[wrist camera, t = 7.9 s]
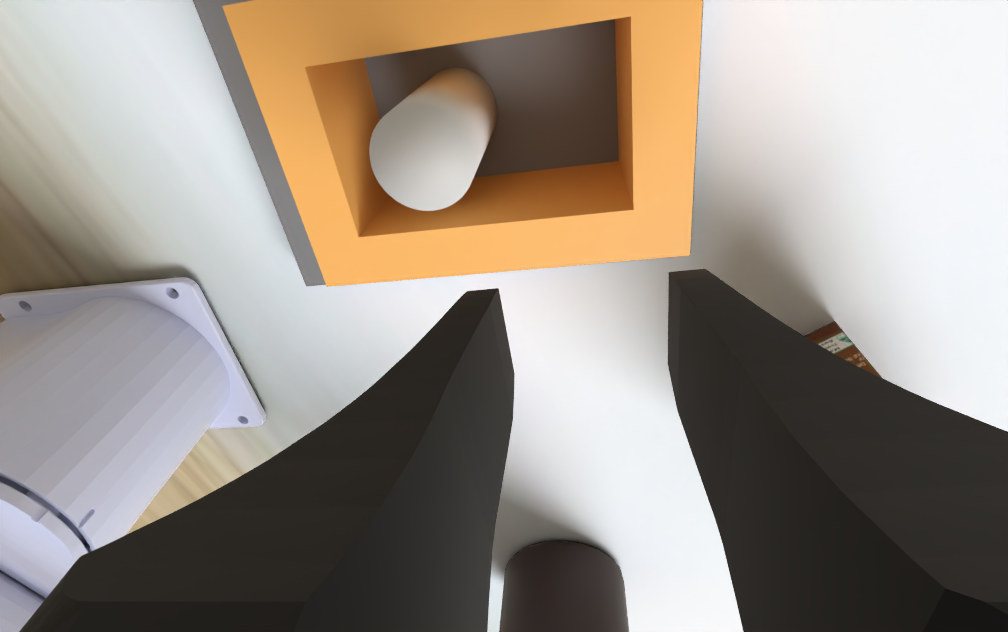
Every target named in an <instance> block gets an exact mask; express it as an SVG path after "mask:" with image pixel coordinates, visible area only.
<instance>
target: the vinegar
mask: <svg viewBox="0 0 1008 632" xmlns="http://www.w3.org/2000/svg"><path fill="white" fill-rule="evenodd" d="M499 632H629V627H628V617H627V607H626V598H625V588H624V581H623V577H622V573H621V570H620V568H619V566H618V565H617V564H616V563H615V562H614V561H613V560H612V558H611V557H609V556H608V555H606V554H604V553H603V552H601V551H599V550H597V549H596V548H594V547H590V546H587V545H584V544H581V543H576V542H567V541H551V542H542V543H538V544H535V545H532V546H529V547H526V548H525V549H523V550H522V551H520V552H518V553H517V554H515V555H514V556H513V557H512V558H511V560H510V561H509V563H508V564H507V566H506V569H505V577H504V588H503V599H502V609H501V620H500V631H499Z"/></svg>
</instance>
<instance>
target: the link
mask: <svg viewBox="0 0 1008 632" xmlns="http://www.w3.org/2000/svg"><path fill="white" fill-rule="evenodd" d="M702 4H703V0H252V1H247V2H241V3H236V4H230V5H225V6H222V7H223V10H224V12H225V15H226V18H227V20H228V23H229V26H230V28H231V31H232V34H233V36H234V39H235V42H236V45H237V47H238V50H239V53H240V55H241V58H242V61H243V63H244V66H245V69H246V71H247V74H248V77H249V79H250V82H251V85H252V87H253V90H254V93H255V95H256V98H257V101H258V104H259V106H260V109H261V112H262V114H263V117H264V120H265V122H266V125H267V128H268V130H269V133H270V136H271V138H272V141H273V144H274V146H275V149H276V152H277V154H278V157H279V160H280V163H281V165H282V168H283V171H284V173H285V176H286V179H287V181H288V184H289V187H290V189H291V192H292V195H293V197H294V200H295V203H296V205H297V208H298V211H299V213H300V216H301V219H302V222H303V224H304V227H305V230H306V232H307V235H308V238H309V240H310V243H311V246H312V248H313V251H314V254H315V256H316V259H317V262H318V264H319V267H320V270H321V272H322V275H323V278H324V281H325V283H326V286H327V287H328V286H340V285H351V284H363V283H375V282H386V281H398V280H410V279H421V278H433V277H445V276H457V275H468V274H480V273H492V272H503V271H515V270H527V269H538V268H550V267H562V266H573V265H585V264H597V263H609V262H620V261H632V260H644V259H655V258H667V257H679V256H690V246H691V225H692V205H693V185H694V165H695V145H696V125H697V104H698V84H699V64H700V44H701V24H702ZM611 19H615V40H616V77H617V113H618V149H619V161H615V162H606V163H598V164H589V165H580V166H571V167H563V168H554V169H545V170H536V171H528V172H519V173H510V174H501V175H493V176H484V177H475V178H473V180H472V183H471V185H470V187H469V189H468V190H467V192H466V193H465V194H464V195H463V197H462V198H461V199H459V200H458V201H457V202H456V203H454V204H452V205H451V206H449V207H446V208H443V209H440V210H435V211H422V210H416V209H413V208H410V207H407V206H405V205H403V204H401V203H399V202H398V201H396V200H395V199H393V198H392V197H391V196H390V195H389V194H388V193H387V192H386V191H385V190H384V189H383V188H382V187H381V185H380V184H379V182H378V181H377V179H376V177H375V175H374V172H373V170H372V167H371V162H370V155H369V147H370V140H371V136H372V133H373V131H374V129H375V127H376V125H377V124H378V122H379V121H380V118H379V114H378V110H377V106H376V102H375V98H374V95H373V91H372V87H371V83H370V79H369V75H368V71H367V68H366V64H365V60H364V58H367V57H373V56H379V55H386V54H392V53H399V52H405V51H412V50H418V49H425V48H431V47H437V46H444V45H450V44H457V43H463V42H470V41H476V40H482V39H489V38H495V37H502V36H508V35H515V34H521V33H528V32H534V31H540V30H547V29H553V28H560V27H566V26H573V25H579V24H585V23H592V22H598V21H605V20H611Z"/></svg>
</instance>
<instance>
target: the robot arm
mask: <svg viewBox="0 0 1008 632" xmlns="http://www.w3.org/2000/svg"><path fill="white" fill-rule="evenodd" d="M172 288H173V289H175V290H176V291H177V292H178V293H176V292H175V291H174V290H173V289H172ZM0 314H1V315H2V316H3V317H4V319H5V321H3V322H1V323H0V632H487V624H488V606H489V590H490V575H491V560H492V547H493V539H494V530H495V523H496V517H497V511H498V505H499V499H500V493H501V487H502V481H503V475H504V469H505V464H506V458H507V452H508V446H509V439H510V433H511V427H512V421H513V402H514V369H513V364H512V359H511V353H510V348H509V343H508V337H507V332H506V326H505V321H504V316H503V310H502V305H501V300H500V294H499V289H487V290H476V291H467V292H466V293H465V294H464V295H463V296H462V297H461V298H460V299H459V300H458V301H457V302H456V303H455V304H454V305H453V306H452V307H451V308H450V309H449V311H448V312H447V313H446V314H445V315H444V316H443V317H442V318H441V319H440V320H439V321H438V322H437V324H436V325H435V326H434V327H433V328H432V329H431V330H430V331H429V332H428V333H427V334H426V335H425V336H424V337H423V338H422V339H421V340H420V341H419V342H418V343H417V344H416V345H415V346H414V347H413V348H412V349H411V350H410V351H409V352H408V353H407V354H406V355H405V356H404V357H403V358H402V359H401V360H400V361H399V362H398V363H396V364H395V365H394V366H393V367H392V368H391V369H390V370H389V371H388V372H387V373H386V374H385V375H384V376H383V377H381V378H380V379H379V380H378V381H377V382H376V383H375V384H374V385H372V386H371V387H370V388H369V389H368V390H367V391H365V392H364V393H363V394H362V395H360V396H359V397H358V398H357V399H356V400H354V401H353V402H352V403H350V404H349V405H348V406H346V407H345V408H344V409H342V410H341V411H340V412H339V413H337V414H336V415H335V416H333V417H332V418H331V419H329V420H328V421H327V422H325V423H324V424H322V425H321V426H319V427H318V428H316V429H315V430H313V431H312V432H310V433H309V434H307V435H306V436H304V437H303V438H301V439H300V440H298V441H297V442H295V443H294V444H292V445H291V446H289V447H288V448H286V449H285V450H283V451H282V452H280V453H279V454H277V455H275V456H274V457H272V458H271V459H269V460H268V461H266V462H264V463H263V464H261V465H259V466H258V467H256V468H254V469H252V470H251V471H249V472H247V473H246V474H244V475H242V476H240V477H239V478H237V479H235V480H234V481H232V482H230V483H228V484H226V485H224V486H223V487H221V488H219V489H217V490H215V491H213V492H212V493H210V494H208V495H206V496H204V497H202V498H201V499H199V500H197V501H195V502H193V503H191V504H189V505H187V506H185V507H183V508H181V509H179V510H177V511H175V512H173V513H171V514H169V515H167V516H165V517H163V518H161V519H159V520H157V521H155V522H152V523H150V524H148V525H146V526H144V527H142V528H140V529H138V530H136V531H134V532H132V533H129V534H127V532H128V531H129V530H130V529H131V527H132V526H133V525H134V523H135V522H136V521H137V520H138V518H139V517H140V516H141V514H142V513H143V512H144V510H145V509H146V508H147V507H148V505H149V504H150V503H151V501H152V500H153V499H154V498H155V496H156V495H157V494H158V492H159V491H160V490H161V488H162V487H163V486H164V485H165V483H166V482H167V481H168V479H169V478H170V477H171V475H172V474H173V473H174V472H175V470H176V469H177V468H178V466H179V465H180V464H181V463H182V461H183V460H184V459H185V457H186V456H187V455H188V453H189V452H190V451H191V450H192V448H193V447H194V446H195V444H196V443H197V442H198V441H199V439H200V438H201V437H202V435H203V434H204V433H205V431H206V430H207V429H210V428H233V427H257V426H261V425H262V424H263V423H264V421H265V420H266V413H265V412H264V410H263V408H262V406H261V404H260V402H259V400H258V398H257V396H256V394H255V392H254V390H253V389H252V387H251V385H250V383H249V381H248V379H247V377H246V375H245V373H244V371H243V369H242V367H241V366H240V364H239V362H238V360H237V358H236V356H235V354H234V352H233V350H232V348H231V346H230V345H229V343H228V341H227V339H226V337H225V335H224V333H223V331H222V329H221V327H220V325H219V323H218V322H217V320H216V318H215V316H214V314H213V312H212V310H211V308H210V306H209V304H208V302H207V300H206V299H205V297H204V295H203V293H202V291H201V289H200V287H199V286H198V284H197V283H196V282H195V281H193V280H192V279H190V278H187V277H179V278H168V279H157V280H146V281H135V282H125V283H114V284H103V285H92V286H82V287H71V288H60V289H49V290H38V291H28V292H17V293H6V294H2V295H1V296H0ZM668 366H669V371H670V376H671V381H672V387H673V391H674V396H675V401H676V405H677V410H678V413H679V416H680V419H681V422H682V425H683V428H684V431H685V433H686V436H687V439H688V442H689V445H690V448H691V451H692V454H693V457H694V459H695V462H696V465H697V468H698V471H699V474H700V476H701V479H702V482H703V485H704V488H705V491H706V494H707V496H708V499H709V502H710V505H711V508H712V511H713V514H714V516H715V519H716V523H717V526H718V529H719V533H720V536H721V539H722V543H723V546H724V550H725V555H726V559H727V563H728V567H729V571H730V575H731V580H732V584H733V588H734V592H735V596H736V600H737V605H738V609H739V613H740V618H741V622H742V627H743V631H744V632H1008V432H1007V431H1004V430H1002V429H999V428H996V427H994V426H991V425H989V424H986V423H984V422H981V421H979V420H976V419H974V418H971V417H969V416H966V415H964V414H962V413H959V412H957V411H954V410H952V409H949V408H947V407H944V406H942V405H939V404H937V403H934V402H932V401H930V400H928V399H925V398H923V397H921V396H919V395H916V394H914V393H912V392H909V391H907V390H905V389H903V388H901V387H899V386H897V385H895V384H893V383H891V382H889V381H887V380H884V379H882V378H880V377H878V376H876V375H874V374H872V373H870V372H868V371H866V370H864V369H862V368H860V367H858V366H856V365H854V364H852V363H850V362H848V361H846V360H845V359H843V358H841V357H839V356H837V355H835V354H834V353H832V352H830V351H829V350H827V349H825V348H823V347H822V346H820V345H818V344H817V343H815V342H813V341H811V340H810V339H808V338H806V337H805V336H803V335H801V334H800V333H798V332H796V331H795V330H793V329H792V328H790V327H788V326H787V325H785V324H784V323H782V322H781V321H779V320H778V319H776V318H775V317H773V316H772V315H770V314H769V313H767V312H766V311H764V310H763V309H761V308H760V307H758V306H757V305H755V304H754V303H753V302H751V301H750V300H748V299H747V298H745V297H744V296H743V295H741V294H740V293H738V292H737V291H736V290H734V289H733V288H731V287H730V286H729V285H727V284H726V283H725V282H723V281H722V280H720V279H719V278H718V277H716V276H715V275H713V274H712V273H710V272H709V271H707V270H706V269H699V270H689V271H678V272H669V312H668ZM126 534H127V535H126Z"/></svg>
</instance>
